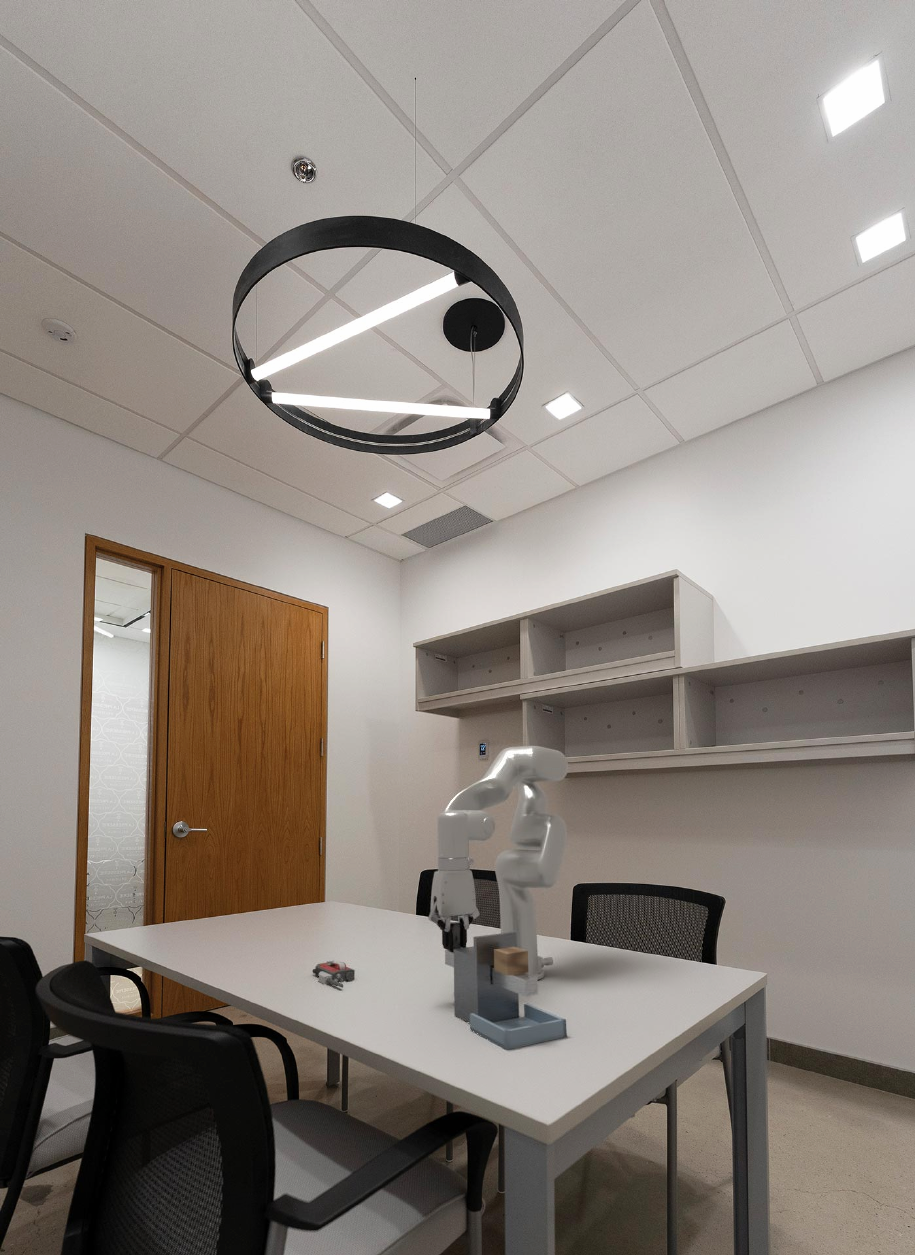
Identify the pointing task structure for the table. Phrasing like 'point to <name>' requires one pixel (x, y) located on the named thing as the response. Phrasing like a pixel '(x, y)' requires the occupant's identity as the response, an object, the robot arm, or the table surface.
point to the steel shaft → (515, 983)
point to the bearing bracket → (483, 981)
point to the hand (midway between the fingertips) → (454, 947)
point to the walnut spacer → (511, 961)
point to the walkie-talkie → (334, 973)
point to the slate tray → (521, 1028)
